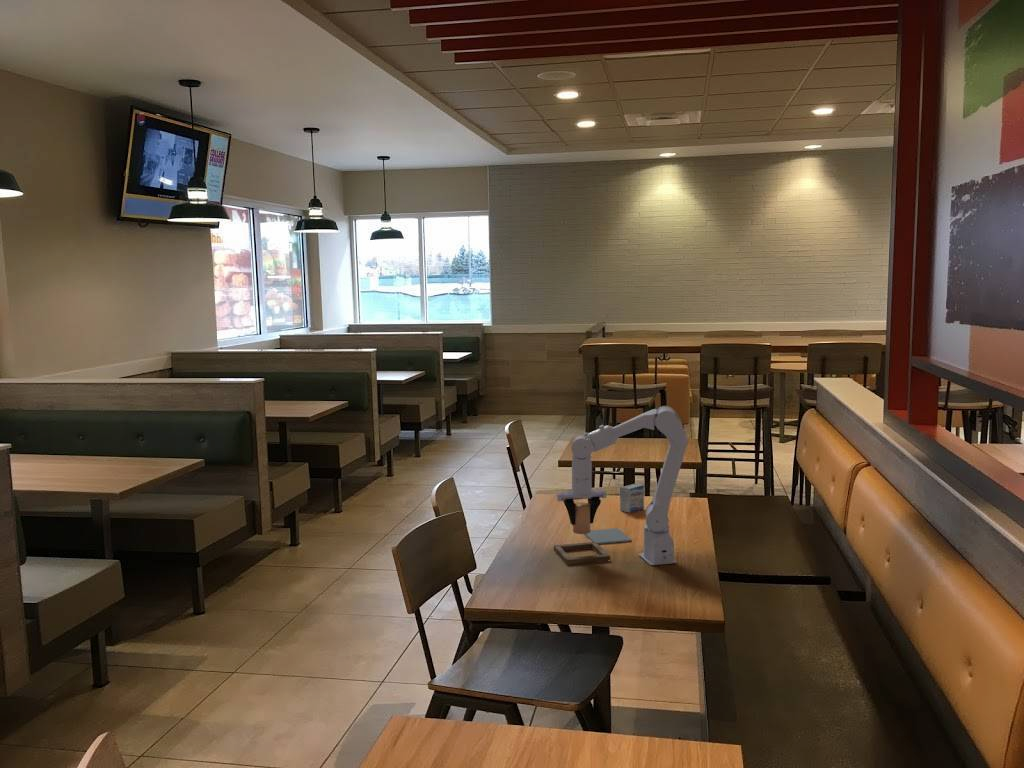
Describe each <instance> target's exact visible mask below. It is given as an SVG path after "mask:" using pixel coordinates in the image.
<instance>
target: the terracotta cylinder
mask: <svg viewBox="0 0 1024 768" xmlns="http://www.w3.org/2000/svg"><path fill="white" fill-rule="evenodd" d="M574 503H575V504H576V507H575V525H572V531H573V533H574V534H577V535H584V534H588V533H590V530H591V523H590V504H589V503H588V502H574Z"/></svg>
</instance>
